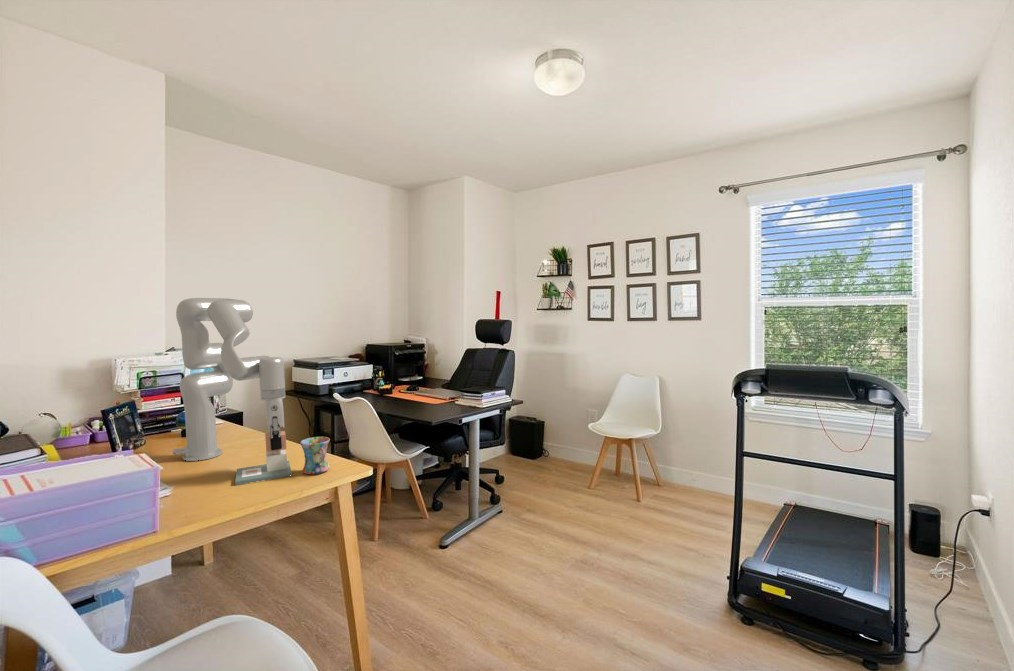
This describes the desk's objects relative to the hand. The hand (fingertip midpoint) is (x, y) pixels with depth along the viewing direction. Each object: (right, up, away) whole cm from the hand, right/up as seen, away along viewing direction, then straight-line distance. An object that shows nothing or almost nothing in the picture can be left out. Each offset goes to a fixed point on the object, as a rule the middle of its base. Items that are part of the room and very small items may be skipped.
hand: (275, 446), depth 160 cm
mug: (+15, -8, -2) cm, 17 cm away
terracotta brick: (0, -1, 0) cm, 1 cm away
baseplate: (-3, -9, -2) cm, 9 cm away
